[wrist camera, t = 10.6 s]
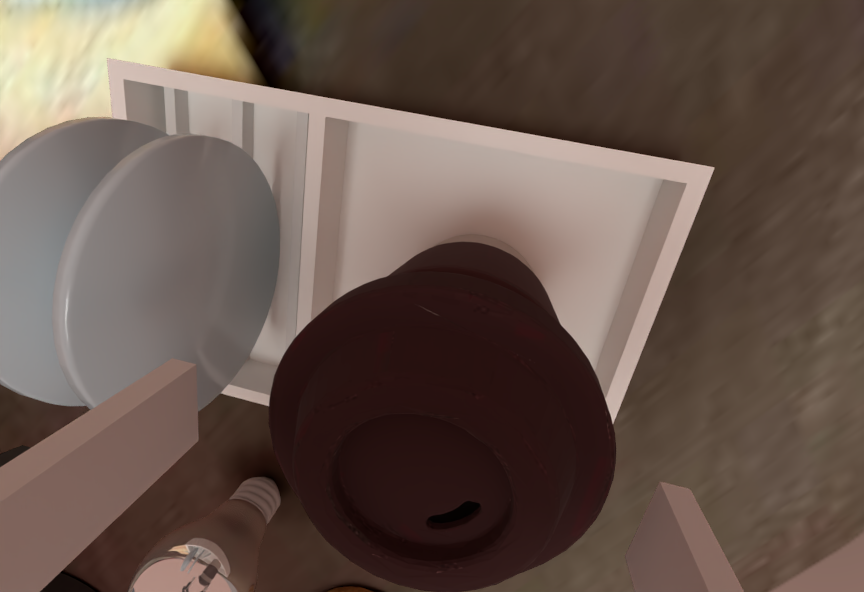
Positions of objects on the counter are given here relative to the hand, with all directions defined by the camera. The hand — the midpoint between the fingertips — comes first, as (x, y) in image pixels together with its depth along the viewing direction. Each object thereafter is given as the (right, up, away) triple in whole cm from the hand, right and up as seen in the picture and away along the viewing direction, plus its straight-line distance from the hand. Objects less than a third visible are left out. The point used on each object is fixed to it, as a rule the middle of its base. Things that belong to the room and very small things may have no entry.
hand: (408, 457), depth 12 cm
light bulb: (-12, -10, +22) cm, 27 cm away
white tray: (-2, +6, +14) cm, 15 cm away
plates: (-11, +8, +14) cm, 19 cm away
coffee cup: (+3, +5, +13) cm, 14 cm away
